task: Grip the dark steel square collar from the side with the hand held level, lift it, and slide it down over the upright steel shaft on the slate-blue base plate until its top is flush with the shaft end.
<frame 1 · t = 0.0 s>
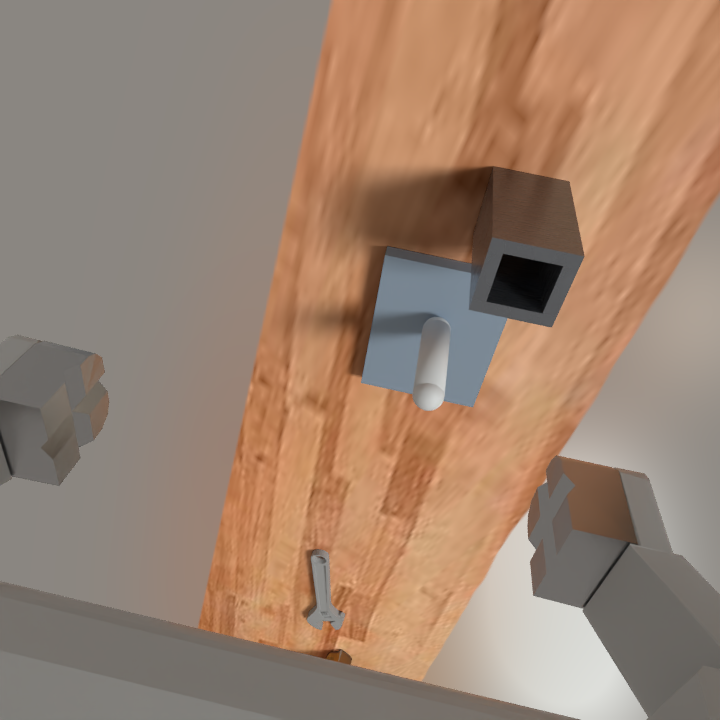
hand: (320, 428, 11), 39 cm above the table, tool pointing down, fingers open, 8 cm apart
pancake mix bag: (339, 664, 118), on the table
adjustable wrench: (328, 587, 98), on the table
steel collar: (519, 208, 48), on the table
shaft base: (434, 328, 58), on the table
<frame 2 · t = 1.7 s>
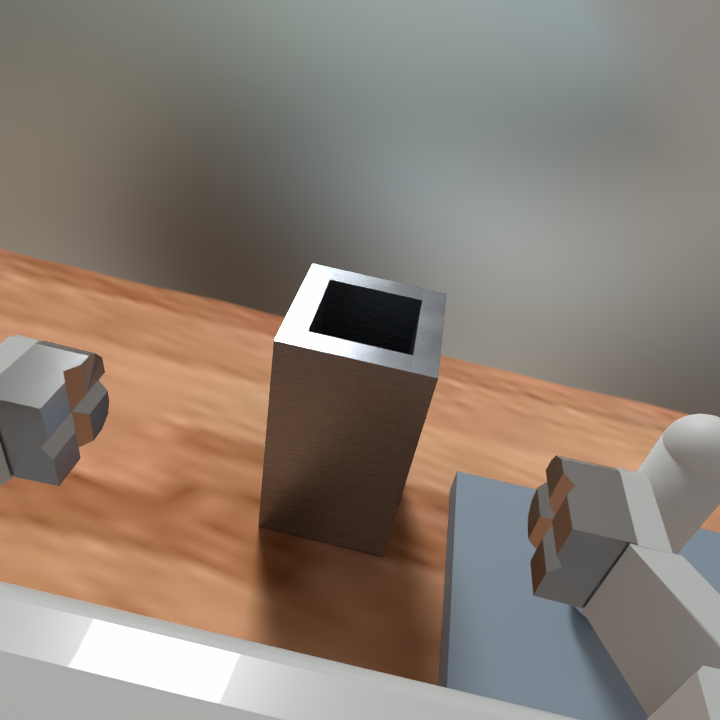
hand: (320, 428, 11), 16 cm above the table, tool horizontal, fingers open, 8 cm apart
steel collar: (333, 492, 30), on the table
shaft base: (619, 633, 26), on the table
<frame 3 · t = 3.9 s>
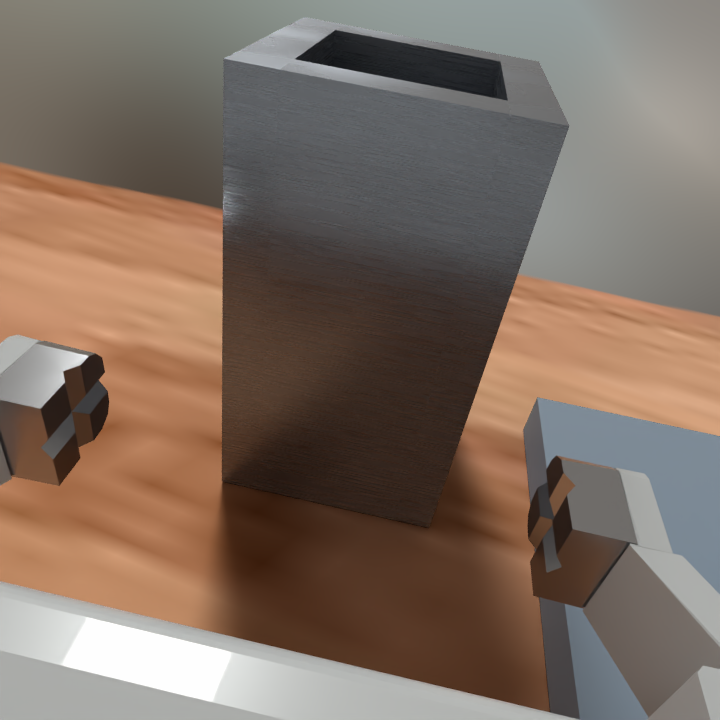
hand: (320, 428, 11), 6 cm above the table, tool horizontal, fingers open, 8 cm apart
steel collar: (343, 432, 19), on the table
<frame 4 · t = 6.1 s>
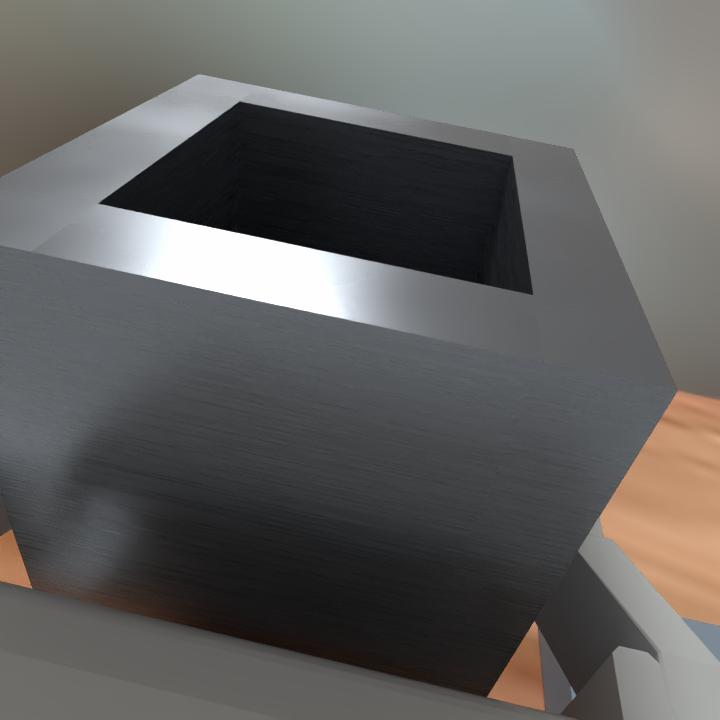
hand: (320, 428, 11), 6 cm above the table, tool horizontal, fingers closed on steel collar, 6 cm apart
steel collar: (285, 643, 13), on the table, touching gripper
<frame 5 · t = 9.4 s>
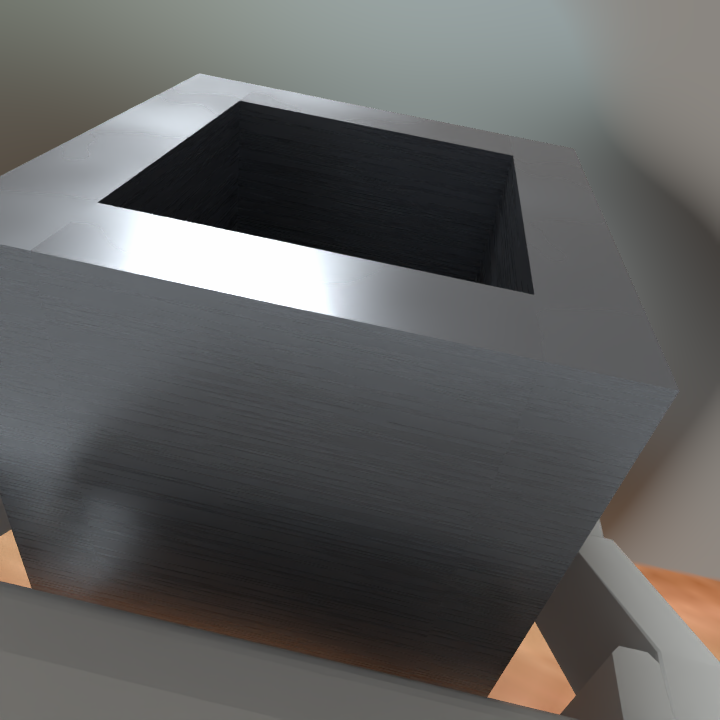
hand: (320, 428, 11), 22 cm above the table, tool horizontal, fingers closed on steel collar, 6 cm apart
steel collar: (284, 643, 13), point 16 cm above the table, touching gripper
when the fingers open (8 cm above the table, at t = 13.0 s): steel collar stays where it is, resting on shaft base.
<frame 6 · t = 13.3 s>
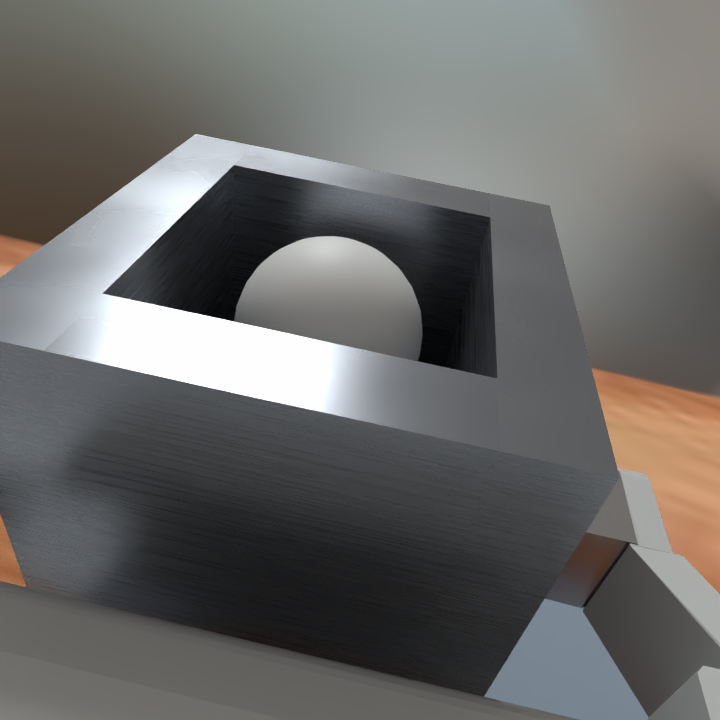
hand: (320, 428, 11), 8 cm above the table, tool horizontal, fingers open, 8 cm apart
steel collar: (280, 662, 14), point 1 cm above the table, touching shaft base
shaft base: (356, 708, 15), on the table
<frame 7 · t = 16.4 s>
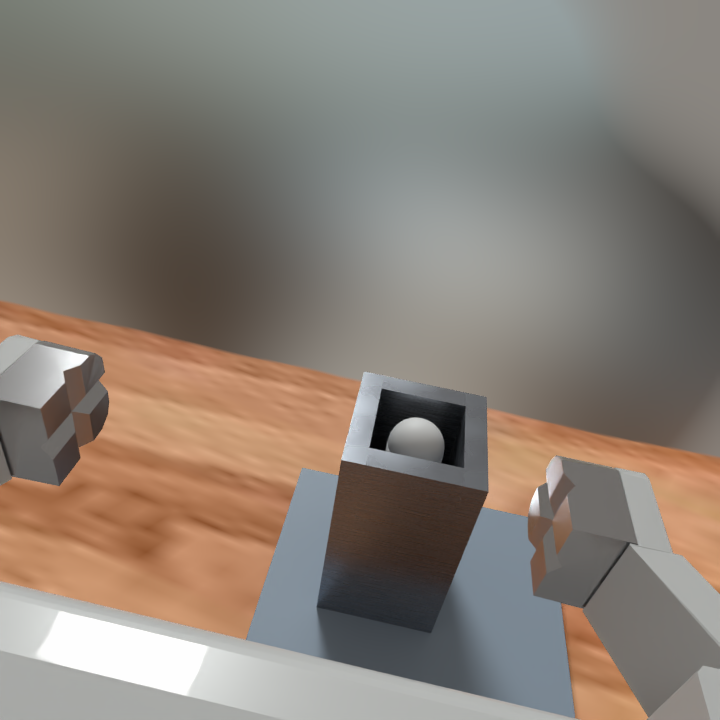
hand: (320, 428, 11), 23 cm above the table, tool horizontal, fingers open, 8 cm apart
steel collar: (381, 569, 33), point 1 cm above the table, touching shaft base
shaft base: (412, 592, 33), on the table
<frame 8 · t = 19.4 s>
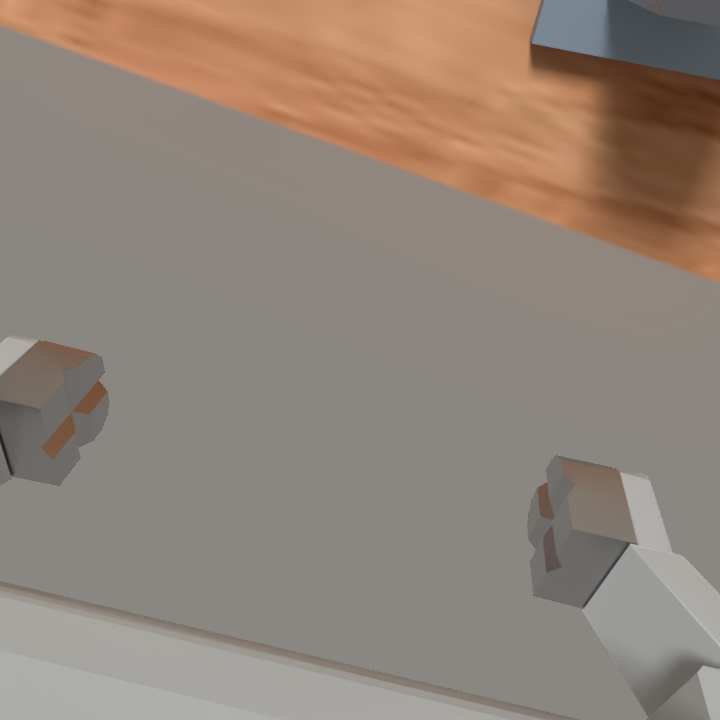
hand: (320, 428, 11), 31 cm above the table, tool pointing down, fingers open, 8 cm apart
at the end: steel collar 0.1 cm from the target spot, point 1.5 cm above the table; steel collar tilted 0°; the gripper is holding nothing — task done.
